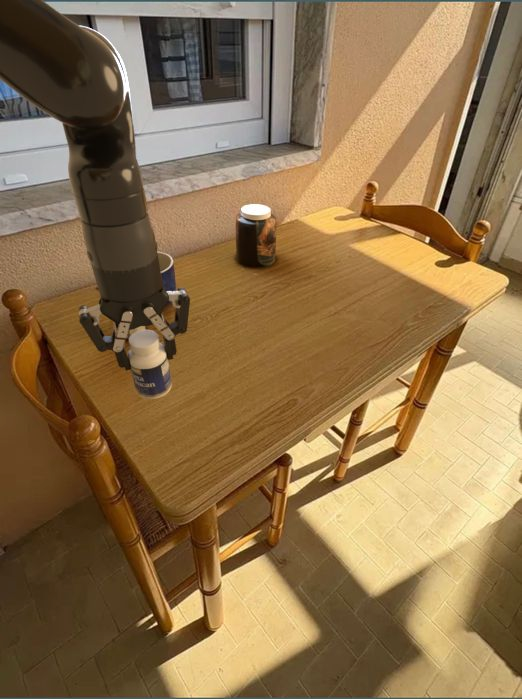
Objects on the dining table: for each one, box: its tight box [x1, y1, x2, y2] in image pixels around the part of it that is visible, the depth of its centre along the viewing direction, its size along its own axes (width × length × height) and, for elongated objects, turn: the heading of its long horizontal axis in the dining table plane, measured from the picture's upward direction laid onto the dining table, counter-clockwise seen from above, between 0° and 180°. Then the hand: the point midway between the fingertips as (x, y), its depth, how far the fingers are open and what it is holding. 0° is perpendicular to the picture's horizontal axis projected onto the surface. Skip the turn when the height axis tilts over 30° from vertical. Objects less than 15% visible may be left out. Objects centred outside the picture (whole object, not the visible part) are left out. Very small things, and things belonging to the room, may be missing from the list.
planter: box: [157, 251, 177, 308], centre depth 94 cm, size 12×12×11 cm
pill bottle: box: [127, 329, 173, 400], centre depth 55 cm, size 5×5×10 cm
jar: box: [235, 203, 277, 269], centre depth 111 cm, size 12×12×15 cm
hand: (148, 360), depth 55 cm, fingers closed on pill bottle, 5 cm apart
